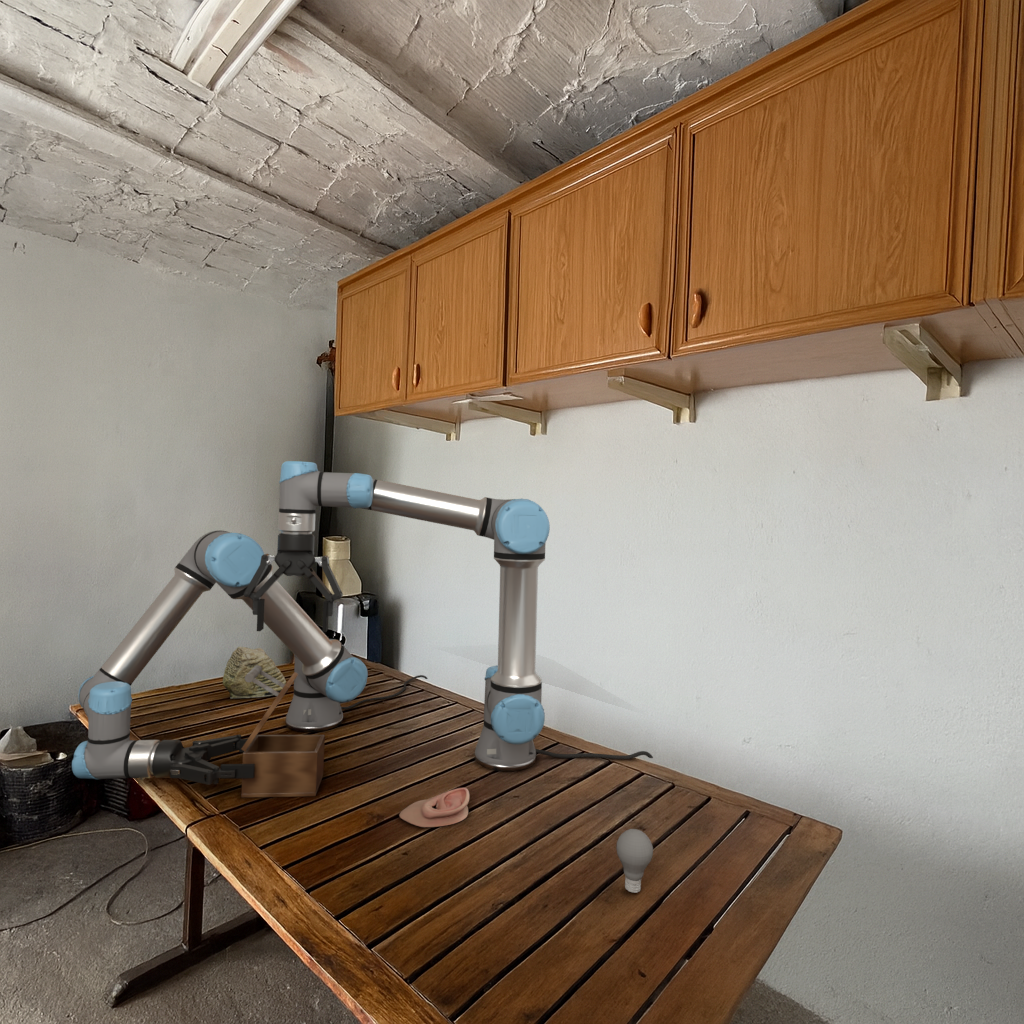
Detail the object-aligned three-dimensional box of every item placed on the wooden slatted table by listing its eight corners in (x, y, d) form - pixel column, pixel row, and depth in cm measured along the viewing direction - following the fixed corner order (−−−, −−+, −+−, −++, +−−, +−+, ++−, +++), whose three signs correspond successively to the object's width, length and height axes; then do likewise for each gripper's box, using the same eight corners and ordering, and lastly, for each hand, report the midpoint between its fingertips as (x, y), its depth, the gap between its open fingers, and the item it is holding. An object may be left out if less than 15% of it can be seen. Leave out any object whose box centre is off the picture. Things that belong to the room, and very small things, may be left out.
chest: (323, 775, 144) (324, 734, 144) (315, 796, 134) (317, 752, 134) (254, 776, 142) (255, 734, 142) (241, 797, 132) (242, 753, 132)
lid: (298, 674, 143) (264, 653, 142) (289, 687, 133) (252, 665, 132) (257, 733, 142) (223, 713, 141) (245, 751, 132) (207, 729, 131)
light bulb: (610, 879, 108) (613, 822, 108) (644, 879, 109) (647, 822, 109) (619, 902, 102) (622, 840, 102) (655, 901, 103) (658, 840, 103)
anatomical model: (393, 802, 124) (414, 778, 135) (393, 823, 124) (413, 796, 135) (459, 812, 121) (474, 786, 132) (458, 833, 121) (473, 805, 133)
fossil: (218, 695, 195) (220, 647, 195) (278, 685, 208) (279, 640, 207) (228, 703, 189) (230, 653, 188) (289, 692, 201) (290, 645, 201)
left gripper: (179, 752, 147) (275, 751, 150) (130, 804, 122) (245, 802, 125) (180, 720, 146) (276, 720, 149) (131, 766, 122) (247, 764, 125)
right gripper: (230, 531, 132) (227, 633, 132) (353, 535, 135) (349, 634, 135) (241, 529, 139) (237, 626, 139) (357, 533, 142) (353, 627, 143)
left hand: (262, 757), depth 137 cm, fingers open, 13 cm apart
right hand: (292, 630), depth 137 cm, fingers open, 13 cm apart
